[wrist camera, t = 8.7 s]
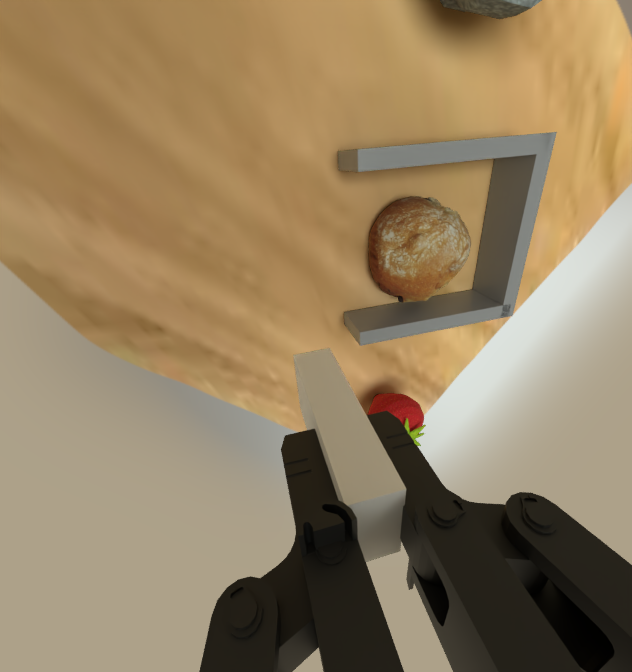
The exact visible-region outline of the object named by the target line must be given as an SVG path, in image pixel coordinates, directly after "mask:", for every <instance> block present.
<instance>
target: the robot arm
mask: <svg viewBox="0 0 632 672" xmlns="http://www.w3.org/2000/svg"><path fill="white" fill-rule="evenodd" d="M293 356H294V364H295V371H296V379H297V386H298V394H299V402H300V408H301V411H302V415H303V418H304V421H305V425H306V428H307V431H302V432H298V433H294V434H290V435H286V436H285V438H284V441H283V445H282V448H281V452H282V457H283V462H284V468H285V473H286V479H287V484H288V489H289V494H290V499H291V505H292V510H293V515H294V520H295V525H296V536H295V542H294V544H293V547H292V549H291V552H290V553H289V554H288V556H287V557H286V558H285V559H284V560H283V561H282V562H281V563H280V564H279V565H278V566H276V567H275V568H274V569H272V570H271V571H270V572H268V573H267V574H266V575H264V576H263V577H262V578H255V577H247V578H243V579H239V580H237V581H236V582H234V583H233V584H231V585H230V586H229V587H227V589H226V590H225V591H224V592H223V594H222V595H221V596H220V598H219V599H218V600H217V603H216V606H215V609H214V611H213V614H212V617H211V621H210V626H209V631H208V636H207V640H206V644H205V649H204V654H203V658H202V663H201V667H200V672H292V671H293V670H294V669H296V667H298V666H299V665H300V664H301V663H302V662H303V661H304V660H305V659H306V658H307V657H309V656H310V655H311V654H312V653H313V652H314V651H315V650H316V649H317V648H318V647H319V651H320V655H321V661H322V666H323V671H324V672H404V671H403V668H402V665H401V662H400V659H399V656H398V653H397V650H396V648H395V645H394V642H393V639H392V636H391V633H390V630H389V628H388V625H387V622H386V619H385V617H384V613H383V610H382V608H381V605H380V602H379V599H378V596H377V594H376V590H375V587H374V585H373V582H372V579H371V576H370V573H369V570H368V567H367V565H366V562H367V561H371V560H374V559H377V558H380V557H383V556H386V555H389V554H392V553H396V552H399V551H400V548H401V541H402V543H403V546H404V548H405V550H406V552H407V554H408V556H409V563H408V572H407V583H408V587H409V590H410V589H412V588H413V584H415V586H416V588H417V590H418V592H419V595H420V597H421V599H422V602H423V604H424V606H425V608H426V611H427V613H428V615H429V617H430V620H431V622H432V624H433V627H434V629H435V631H436V633H437V636H438V638H439V640H440V643H441V645H442V647H443V649H444V652H445V654H446V656H447V658H448V661H449V663H450V665H451V668H452V670H453V672H632V565H631V564H630V563H628V562H627V561H626V560H625V559H623V558H622V557H621V556H620V555H618V554H617V553H616V552H615V551H613V550H612V549H611V548H609V547H608V546H607V545H606V544H605V543H603V542H602V541H601V540H599V539H598V538H597V537H596V536H594V535H593V534H592V533H591V532H589V531H588V530H587V529H586V528H584V527H583V526H582V525H581V524H579V523H578V522H577V521H575V520H574V519H573V518H572V517H570V516H569V515H568V514H567V513H565V512H564V511H563V510H562V509H560V508H559V507H558V506H557V505H555V504H554V503H552V502H551V501H549V500H547V499H545V498H544V497H542V496H539V495H536V494H533V493H522V492H520V493H517V494H514V495H511V497H510V498H509V499H508V501H507V502H506V505H503V504H485V503H474V502H469V501H466V500H463V499H462V498H460V497H459V496H457V495H456V494H454V493H452V492H451V491H449V490H447V489H446V488H445V486H444V485H443V484H442V483H441V481H440V480H439V478H438V477H437V475H436V474H435V472H434V471H433V469H432V468H431V466H430V465H429V463H428V462H427V460H426V459H425V457H424V456H423V454H422V453H421V451H420V450H419V448H418V447H417V445H416V444H415V443H414V441H413V439H412V438H411V436H410V435H409V434H408V431H407V430H406V428H405V427H404V425H403V424H402V422H401V421H400V419H398V418H397V417H395V416H394V415H393V414H391V413H390V412H388V411H383V412H378V413H374V414H370V415H366V414H365V412H364V410H363V408H362V406H361V405H360V403H359V401H358V399H357V397H356V395H355V393H354V392H353V390H352V388H351V386H350V384H349V382H348V381H347V379H346V377H345V375H344V373H343V371H342V370H341V368H340V366H339V364H338V362H337V360H336V359H335V357H334V355H333V353H332V351H331V349H330V348H327V349H322V350H316V351H311V352H306V353H301V354H296V355H293Z"/></svg>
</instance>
